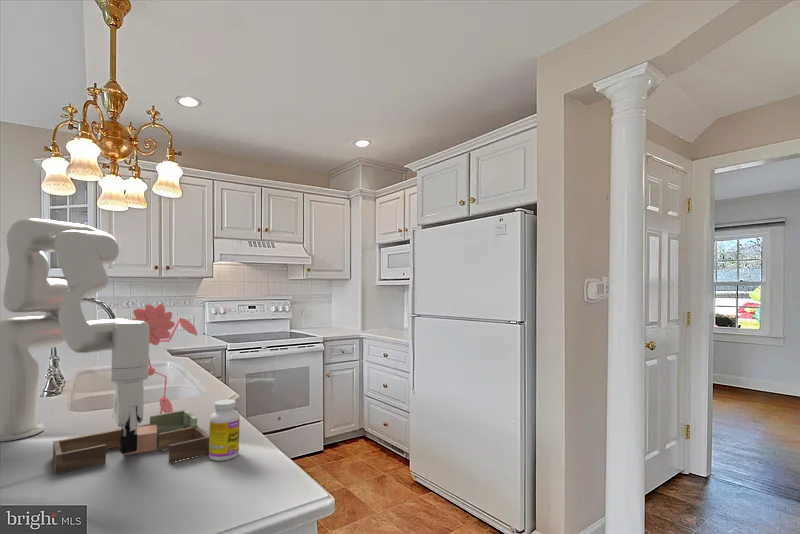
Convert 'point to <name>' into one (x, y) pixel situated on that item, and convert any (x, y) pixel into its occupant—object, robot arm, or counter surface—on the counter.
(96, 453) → the box
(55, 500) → the counter surface
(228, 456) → the supplement bottle
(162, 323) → the figurine
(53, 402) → the counter surface
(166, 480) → the counter surface
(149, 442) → the terracotta block
